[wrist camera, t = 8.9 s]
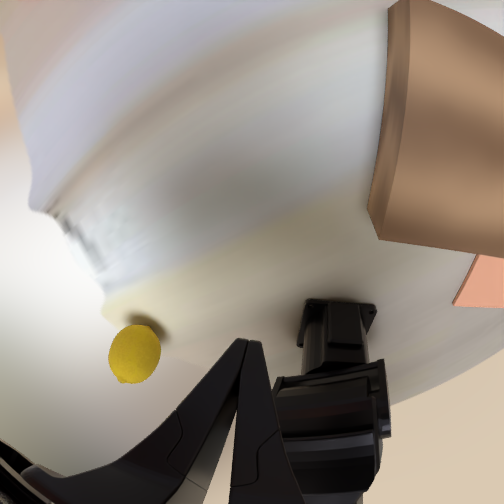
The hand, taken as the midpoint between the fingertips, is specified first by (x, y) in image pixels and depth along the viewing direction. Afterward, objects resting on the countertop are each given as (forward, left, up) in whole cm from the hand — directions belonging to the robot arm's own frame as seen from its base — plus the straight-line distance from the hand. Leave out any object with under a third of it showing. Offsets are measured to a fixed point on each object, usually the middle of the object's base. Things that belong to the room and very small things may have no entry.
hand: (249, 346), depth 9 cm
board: (+7, -11, -12) cm, 18 cm away
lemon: (-17, +14, -12) cm, 25 cm away
